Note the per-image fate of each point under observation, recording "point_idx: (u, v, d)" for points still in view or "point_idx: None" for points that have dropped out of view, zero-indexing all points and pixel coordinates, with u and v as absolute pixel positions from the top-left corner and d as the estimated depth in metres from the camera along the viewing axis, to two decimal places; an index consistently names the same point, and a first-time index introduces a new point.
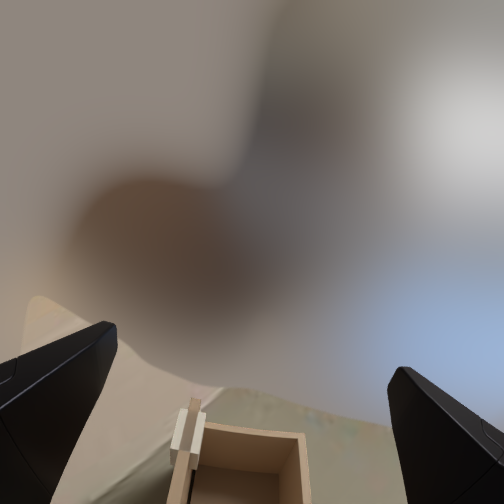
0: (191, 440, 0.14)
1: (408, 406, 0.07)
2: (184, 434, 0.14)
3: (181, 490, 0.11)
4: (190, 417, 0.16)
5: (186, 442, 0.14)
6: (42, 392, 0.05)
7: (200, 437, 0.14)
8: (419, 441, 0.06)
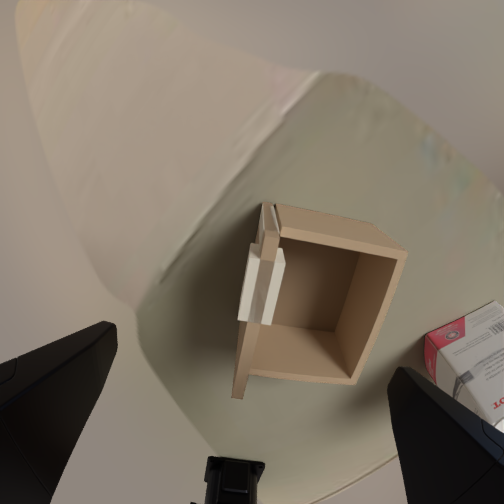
0: (263, 307, 0.14)
1: (408, 406, 0.07)
2: (254, 300, 0.13)
3: (250, 364, 0.15)
4: (262, 271, 0.13)
5: (257, 311, 0.14)
6: (42, 392, 0.05)
7: (274, 302, 0.13)
8: (419, 441, 0.06)
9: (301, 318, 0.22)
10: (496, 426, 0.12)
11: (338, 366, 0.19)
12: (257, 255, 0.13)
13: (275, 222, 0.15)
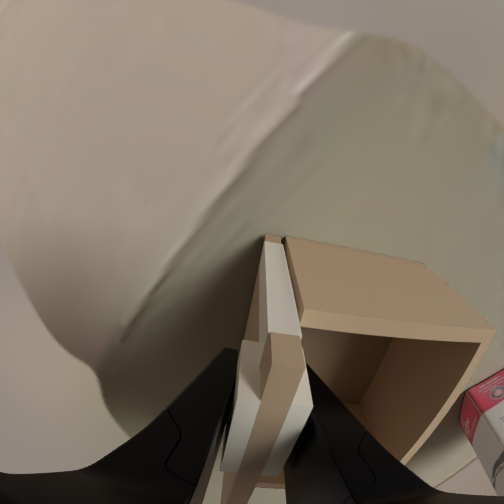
0: (265, 460, 0.06)
1: None
2: (249, 452, 0.06)
3: None
4: (265, 419, 0.06)
5: (254, 463, 0.06)
6: (214, 443, 0.05)
7: (286, 455, 0.06)
8: (295, 445, 0.06)
9: None
10: None
11: None
12: (255, 386, 0.06)
13: (290, 297, 0.08)
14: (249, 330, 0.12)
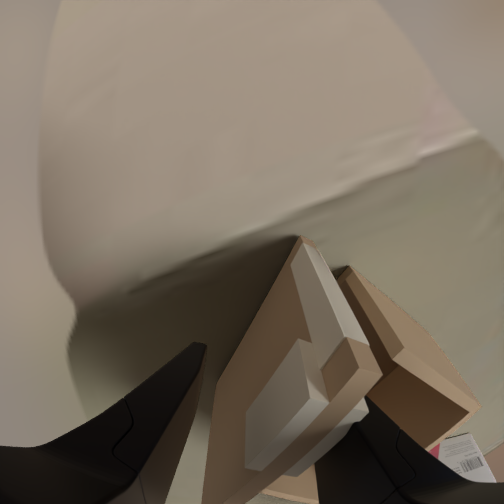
0: (296, 460, 0.06)
1: None
2: (287, 452, 0.06)
3: (242, 503, 0.07)
4: (324, 420, 0.06)
5: (284, 463, 0.06)
6: (168, 434, 0.05)
7: (319, 456, 0.06)
8: None
9: None
10: None
11: None
12: (321, 387, 0.06)
13: (347, 305, 0.08)
14: (266, 326, 0.12)
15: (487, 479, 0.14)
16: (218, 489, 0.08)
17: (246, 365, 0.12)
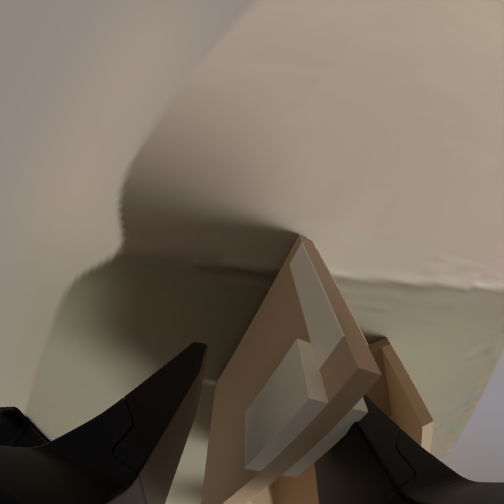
0: (296, 460, 0.06)
1: None
2: (287, 452, 0.06)
3: None
4: (322, 420, 0.06)
5: (283, 463, 0.06)
6: (168, 434, 0.05)
7: (318, 456, 0.06)
8: None
9: None
10: None
11: (272, 502, 0.13)
12: (320, 387, 0.06)
13: (346, 305, 0.08)
14: (265, 326, 0.12)
15: None
16: (218, 489, 0.08)
17: (245, 365, 0.12)
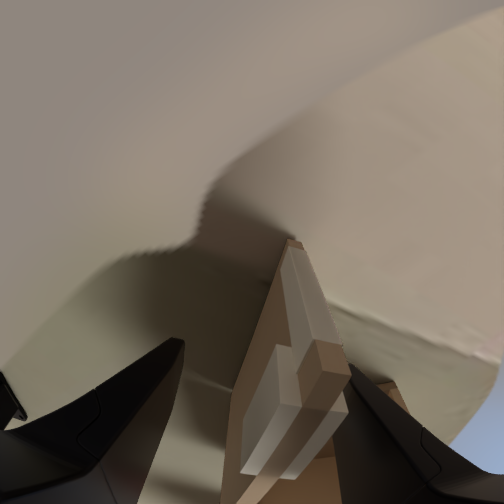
0: (288, 463, 0.06)
1: None
2: (276, 455, 0.06)
3: None
4: (302, 423, 0.06)
5: (276, 466, 0.06)
6: (135, 425, 0.05)
7: (310, 458, 0.06)
8: (353, 446, 0.06)
9: None
10: None
11: None
12: (294, 391, 0.06)
13: (325, 305, 0.08)
14: (264, 333, 0.12)
15: None
16: (230, 495, 0.08)
17: (250, 372, 0.12)
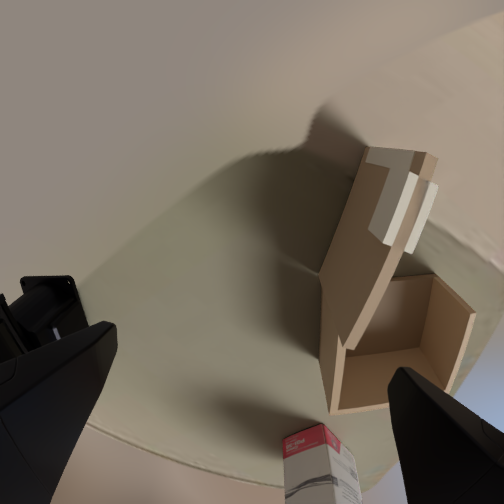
0: (410, 231, 0.11)
1: (408, 406, 0.07)
2: (404, 221, 0.11)
3: (378, 302, 0.12)
4: (418, 190, 0.11)
5: (404, 234, 0.11)
6: (42, 392, 0.05)
7: (421, 227, 0.11)
8: (419, 441, 0.06)
9: None
10: None
11: None
12: None
13: None
14: (358, 201, 0.17)
15: (359, 492, 0.22)
16: (356, 304, 0.13)
17: (349, 232, 0.17)
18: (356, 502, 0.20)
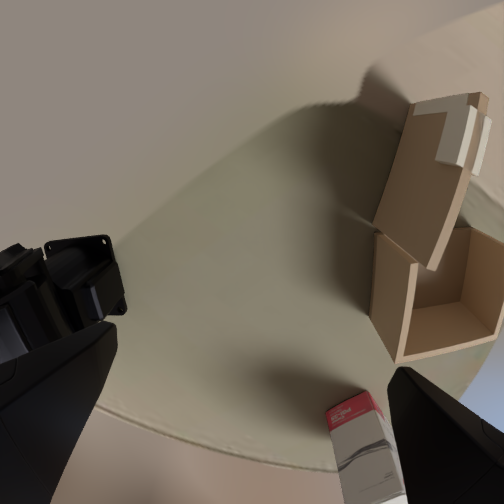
0: (475, 156, 0.11)
1: (408, 406, 0.07)
2: (471, 146, 0.11)
3: (454, 221, 0.12)
4: (478, 121, 0.10)
5: (471, 158, 0.11)
6: (42, 392, 0.05)
7: (483, 153, 0.11)
8: (419, 441, 0.06)
9: None
10: (401, 496, 0.15)
11: None
12: None
13: None
14: (412, 147, 0.17)
15: None
16: (433, 226, 0.13)
17: (406, 174, 0.17)
18: None
